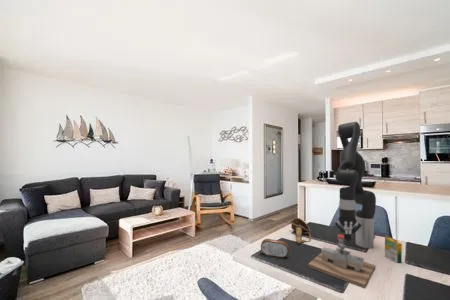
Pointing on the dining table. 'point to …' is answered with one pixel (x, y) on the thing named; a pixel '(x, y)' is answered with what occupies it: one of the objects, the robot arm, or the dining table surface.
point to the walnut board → (343, 271)
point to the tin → (275, 248)
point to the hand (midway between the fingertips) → (347, 240)
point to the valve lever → (341, 242)
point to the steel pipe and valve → (342, 258)
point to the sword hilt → (300, 229)
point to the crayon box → (393, 249)
